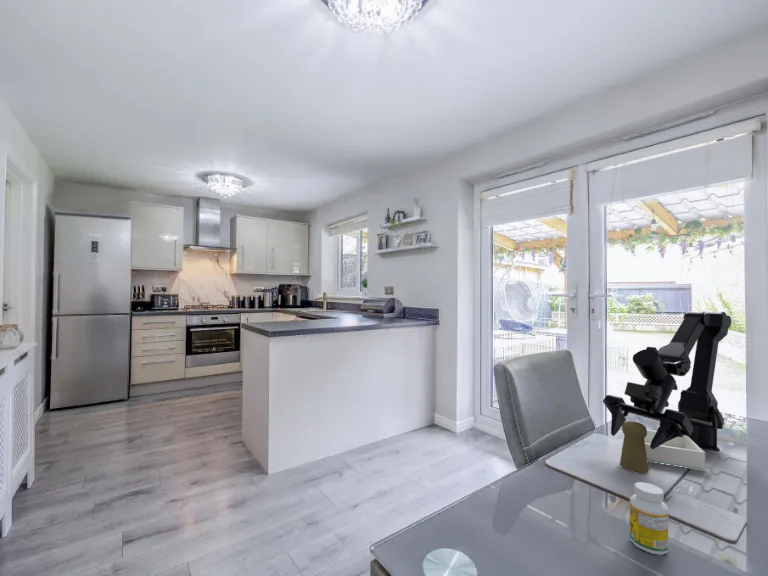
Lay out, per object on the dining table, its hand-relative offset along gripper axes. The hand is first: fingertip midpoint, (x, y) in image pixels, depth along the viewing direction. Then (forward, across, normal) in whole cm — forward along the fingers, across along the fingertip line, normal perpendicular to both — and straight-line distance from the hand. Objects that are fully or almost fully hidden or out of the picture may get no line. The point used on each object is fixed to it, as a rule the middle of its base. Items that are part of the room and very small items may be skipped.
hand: (630, 441), depth 92 cm
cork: (+4, 0, +6) cm, 7 cm away
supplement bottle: (+24, +18, -15) cm, 34 cm away
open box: (-7, -1, +16) cm, 18 cm away
